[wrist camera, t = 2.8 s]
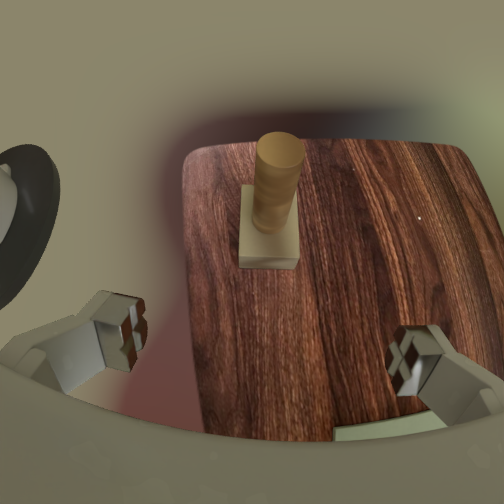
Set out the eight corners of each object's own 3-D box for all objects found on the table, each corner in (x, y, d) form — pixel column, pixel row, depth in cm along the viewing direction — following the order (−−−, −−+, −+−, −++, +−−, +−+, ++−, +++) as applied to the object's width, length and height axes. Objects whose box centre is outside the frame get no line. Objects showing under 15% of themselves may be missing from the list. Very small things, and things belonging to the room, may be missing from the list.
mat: (317, 566, 15) (318, 570, 14) (332, 427, 21) (335, 428, 21) (467, 515, 15) (471, 517, 14) (488, 390, 22) (493, 390, 21)
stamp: (239, 268, 27) (236, 194, 15) (241, 201, 29) (242, 109, 18) (293, 269, 27) (328, 199, 16) (291, 203, 29) (315, 114, 18)
